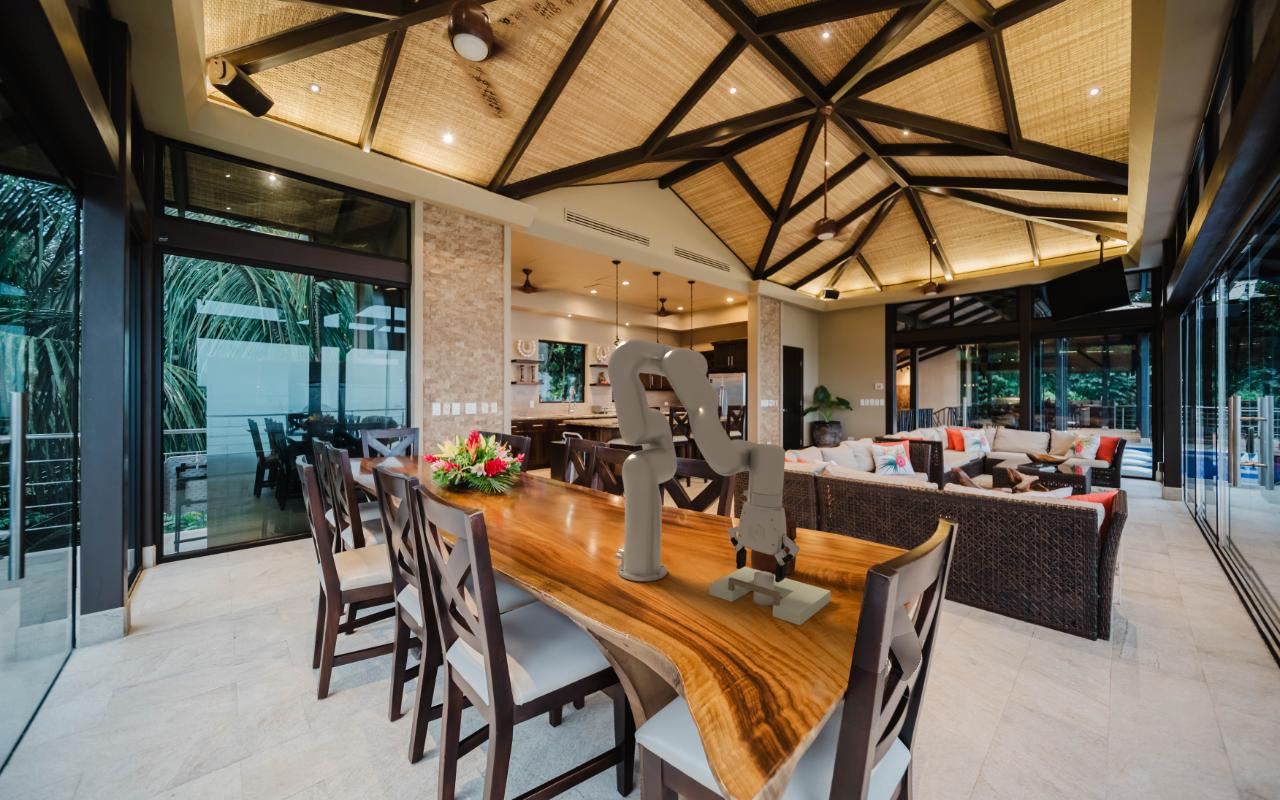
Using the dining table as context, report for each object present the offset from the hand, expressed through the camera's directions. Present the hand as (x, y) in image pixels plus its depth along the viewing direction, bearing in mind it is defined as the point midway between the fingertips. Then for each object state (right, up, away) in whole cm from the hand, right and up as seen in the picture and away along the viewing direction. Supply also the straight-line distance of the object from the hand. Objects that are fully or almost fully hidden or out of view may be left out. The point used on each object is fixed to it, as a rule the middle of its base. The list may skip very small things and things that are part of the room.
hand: (759, 573), depth 113 cm
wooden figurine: (+8, -6, +19) cm, 22 cm away
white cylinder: (+1, -6, 0) cm, 6 cm away
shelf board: (+2, -6, +2) cm, 7 cm away
